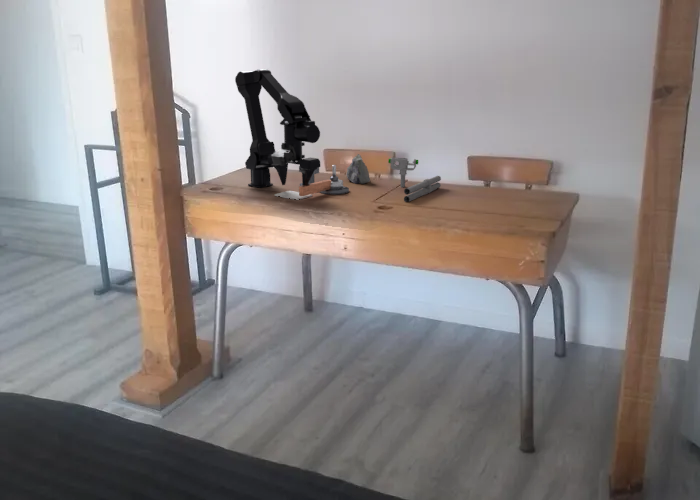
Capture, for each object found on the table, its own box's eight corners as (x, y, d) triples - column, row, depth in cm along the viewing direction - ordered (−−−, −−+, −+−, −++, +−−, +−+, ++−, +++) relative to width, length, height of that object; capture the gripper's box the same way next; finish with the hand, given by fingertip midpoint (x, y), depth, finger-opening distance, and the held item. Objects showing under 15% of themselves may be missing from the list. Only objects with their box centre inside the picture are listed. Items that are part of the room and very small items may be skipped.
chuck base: (313, 191, 238) (313, 188, 237) (331, 187, 245) (331, 184, 245) (336, 195, 232) (336, 193, 231) (354, 190, 239) (354, 188, 239)
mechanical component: (416, 188, 244) (417, 159, 241) (387, 187, 246) (388, 158, 243) (417, 186, 247) (418, 158, 244) (388, 185, 249) (389, 157, 246)
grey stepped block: (297, 186, 247) (297, 166, 244) (305, 184, 250) (305, 164, 248) (312, 188, 242) (312, 168, 240) (320, 186, 246) (320, 166, 244)
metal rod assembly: (410, 203, 223) (410, 188, 222) (402, 202, 225) (402, 187, 223) (442, 189, 245) (442, 174, 243) (434, 188, 246) (435, 174, 245)
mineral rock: (349, 176, 264) (349, 150, 261) (376, 178, 261) (377, 151, 258) (339, 183, 252) (339, 155, 249) (368, 185, 249) (368, 157, 246)
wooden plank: (332, 185, 242) (332, 162, 240) (346, 187, 239) (346, 164, 236) (294, 195, 227) (293, 171, 225) (308, 197, 223) (307, 173, 221)
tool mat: (274, 195, 231) (274, 194, 231) (289, 192, 237) (289, 190, 237) (297, 200, 226) (297, 198, 225) (312, 196, 231) (312, 194, 231)
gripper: (255, 139, 228) (256, 187, 232) (298, 145, 217) (299, 194, 221) (278, 136, 236) (279, 181, 241) (321, 141, 225) (321, 189, 230)
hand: (294, 186), depth 233 cm, fingers open, 9 cm apart
